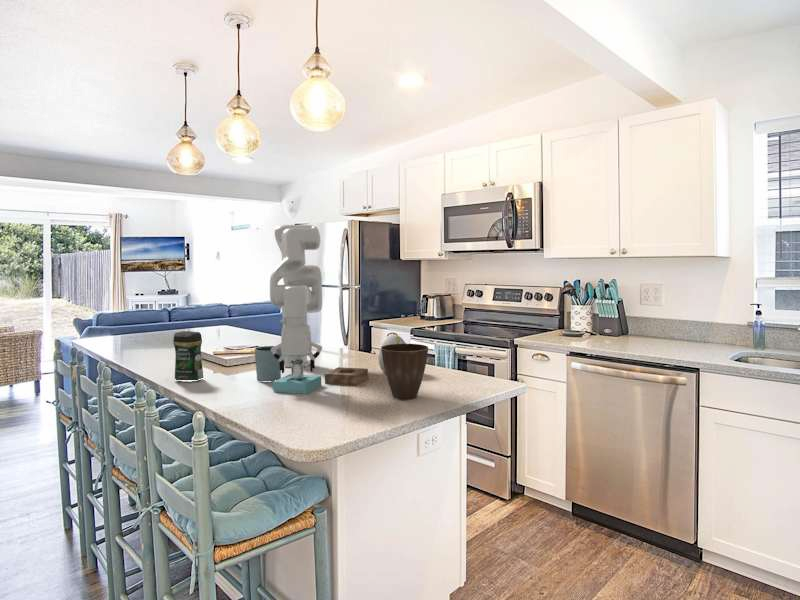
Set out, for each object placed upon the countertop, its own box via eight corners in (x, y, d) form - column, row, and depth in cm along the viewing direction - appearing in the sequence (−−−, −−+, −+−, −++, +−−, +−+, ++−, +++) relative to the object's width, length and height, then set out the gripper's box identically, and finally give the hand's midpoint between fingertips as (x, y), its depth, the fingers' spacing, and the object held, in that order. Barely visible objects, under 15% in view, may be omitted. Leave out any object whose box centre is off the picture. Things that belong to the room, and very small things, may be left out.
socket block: (273, 391, 169) (273, 381, 169) (290, 383, 181) (290, 374, 180) (305, 394, 166) (305, 383, 166) (321, 385, 177) (321, 375, 177)
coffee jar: (170, 382, 185) (168, 332, 184) (185, 377, 193) (182, 329, 192) (193, 383, 183) (191, 333, 182) (207, 378, 191) (205, 330, 189)
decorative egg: (407, 376, 190) (407, 337, 189) (375, 375, 192) (375, 336, 191) (412, 369, 202) (411, 332, 201) (382, 369, 204) (381, 332, 203)
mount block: (324, 383, 180) (324, 373, 180) (338, 376, 192) (338, 367, 191) (356, 385, 177) (356, 375, 176) (368, 377, 188) (367, 368, 188)
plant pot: (428, 390, 167) (427, 343, 166) (429, 403, 153) (428, 350, 151) (383, 391, 168) (382, 343, 167) (380, 403, 153) (379, 351, 152)
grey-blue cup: (265, 376, 194) (264, 345, 193) (288, 377, 191) (287, 346, 190) (249, 382, 184) (248, 349, 184) (273, 383, 181) (272, 350, 180)
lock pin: (289, 389, 172) (289, 360, 171) (295, 387, 176) (294, 358, 175) (300, 390, 171) (299, 361, 170) (305, 387, 175) (305, 359, 174)
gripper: (268, 324, 167) (270, 375, 168) (321, 322, 169) (322, 372, 170) (271, 321, 174) (272, 370, 175) (321, 320, 177) (322, 368, 178)
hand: (297, 371), depth 173 cm, fingers open, 9 cm apart
